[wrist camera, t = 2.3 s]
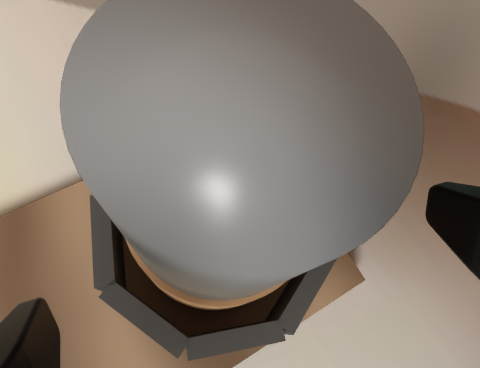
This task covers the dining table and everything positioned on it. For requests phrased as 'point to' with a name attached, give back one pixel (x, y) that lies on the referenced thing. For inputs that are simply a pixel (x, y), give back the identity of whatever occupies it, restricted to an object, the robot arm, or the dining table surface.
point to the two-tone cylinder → (240, 137)
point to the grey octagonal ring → (166, 333)
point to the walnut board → (137, 281)
